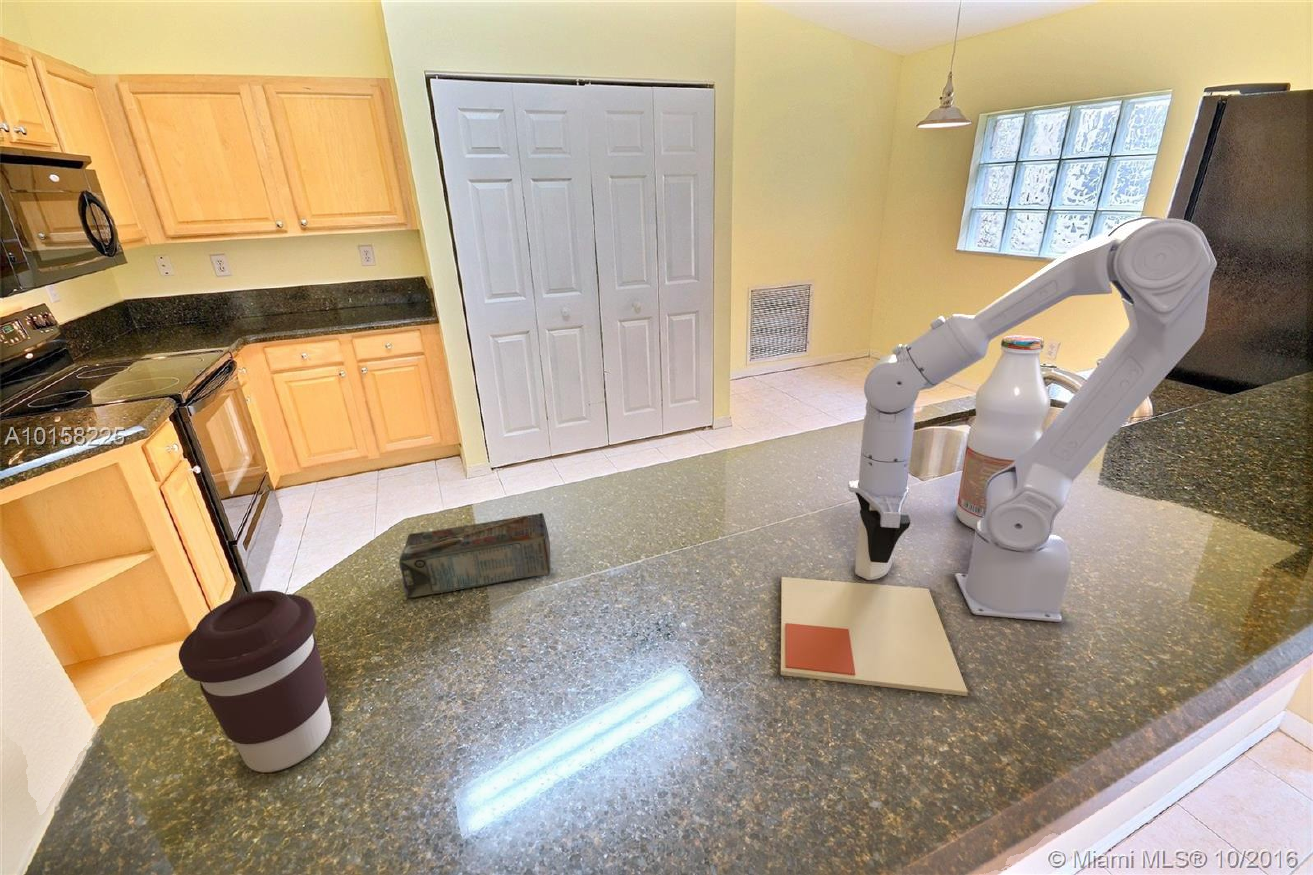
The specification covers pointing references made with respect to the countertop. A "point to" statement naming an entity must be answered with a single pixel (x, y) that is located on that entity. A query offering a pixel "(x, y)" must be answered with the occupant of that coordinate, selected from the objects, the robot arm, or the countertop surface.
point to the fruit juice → (1003, 421)
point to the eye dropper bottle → (868, 558)
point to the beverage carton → (475, 555)
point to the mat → (866, 636)
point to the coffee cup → (262, 676)
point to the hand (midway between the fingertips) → (875, 548)
